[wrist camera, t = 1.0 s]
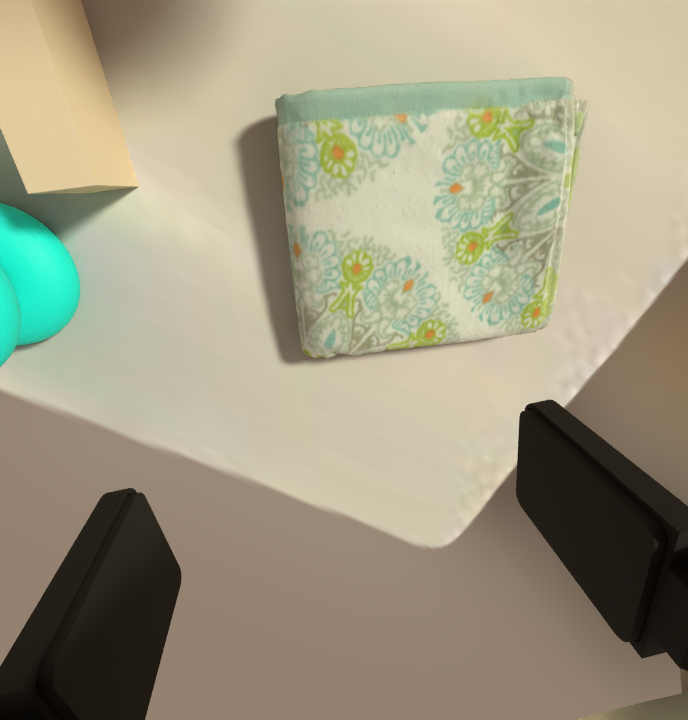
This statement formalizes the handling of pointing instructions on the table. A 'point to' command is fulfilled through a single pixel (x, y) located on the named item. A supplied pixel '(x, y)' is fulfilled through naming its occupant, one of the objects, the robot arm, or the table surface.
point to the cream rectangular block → (58, 101)
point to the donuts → (33, 282)
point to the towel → (426, 209)
